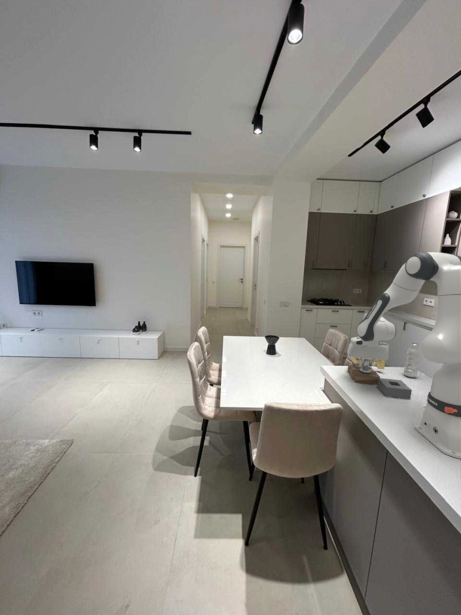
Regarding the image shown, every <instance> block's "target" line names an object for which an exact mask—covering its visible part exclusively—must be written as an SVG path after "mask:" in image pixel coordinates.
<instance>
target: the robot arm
mask: <svg viewBox="0 0 461 615" xmlns="http://www.w3.org/2000/svg"><path fill="white" fill-rule="evenodd" d="M427 281H428V282H429V281H433V282H435V284H436V286H437V311H436V312H437V313H436V314H437V315H436V320H435V322H434V325H433V328H432V329H431V331H430V333H429V334H428V335H427V336H425V337H424V338H423V340H422V341H421V343H420V344H421V345H420V352H421V354H422V355H423V357H424V358H425V359H426V360H427V361H430V362H432V363H436V364H442V366H441V367H440V368H439V369H438V370H436V371H435V372H434V373H433V375H432V379H431V385H430V390H429V391H428V394H427V397H426V398H427V399H426V402H427V403H426V405H424V407H422V409H421V412H420V416H419V419H418V422H417V423H415V424H414V426H413V428H414V429H415V430H416V431H417V432H419V433H420V435H422V436H423V437H425V439H426V440H428V441H429V442H430V443H431V444H432V445H434V447H435V448H437V449H438V450H439V451H440V452H442V453H443V454H444V455H447V456H450V457H453V458H456V459H459V460H461V256H460V255H457V254H455V253H446V252H445V253H444V252H441V251H440V252H439V251H438V252H437V251H436V252H435V251H434V252H433V251H429V252H426V251H419V252H415V253H413V254H410V256H409V257H407V259H406V261H405V263H404V264H402V266H401V267H400V269H399V270H398V272H397V274H395V277H394V278H393V281H392V283H391V284H390V286H388V288H387V289H386V290H385V291H384V292H383V293H381V294H380V295H379V296H378V297H377V298H376V300H375V301H374V302H373V304H372V306H371V308H370V309H369V310H368V312H365V313H364V315H363V318H362V320H361V321H360V322H359V324H357V327H356V334H357V336H354V337H351V338H350V343H348V345H347V352H346V354H347V356H349V357H358V358H359V360H358V361H359V365H364V362H363V361H361V359H362V358H370V359H372V361H370V364H369V366H371V367H373V366H374V363H376V362H375V361H376V359H381V360H385V361H387V360H388V359H389V353H390V352H389V350H390V346H391V345H390V344H389V343H388V342H383V341H393V339H395V337H396V335H397V327H396V325H395V324H394V323H393V322H390V321H388V320H387V319H386V318H385V317H383V315H384V314H385V313H386V312H387V311H388V310H391V309H392V308H396V307H399V306H402V305H407V304H409V303H411V302H413V301H414V300H415V299H416V298H417V296H418V294H419V293H420V291H421V289H422V287H423V285H424V283H426V282H427Z"/></svg>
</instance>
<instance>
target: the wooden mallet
mask: <svg viewBox="0 0 461 615" xmlns="http://www.w3.org/2000/svg"><path fill="white" fill-rule="evenodd" d="M349 357H350V356H349ZM363 359H364V358H362V359H361V361H363ZM368 359H370V362H371V361H372V359H371V358H368ZM350 360H351V362H353V363H354V364H355V365H360V360H359V358H358V357H350ZM374 363H376V368H377V369H378V370H385V367H386V360H381V359H376V361H375V362H374Z"/></svg>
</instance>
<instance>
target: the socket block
mask: <svg viewBox="0 0 461 615" xmlns="http://www.w3.org/2000/svg"><path fill="white" fill-rule="evenodd" d="M362 366H363V365H360V364H359V365H355V364H354V363H353V361H351V363H348V364H347V373H348V374H349V376H350V377H351V379H352V380H353V382H354V383H355V384H364V385H372V386H377V383H378V378H381V376H380V374H378V373H377V372H376V370H374V369H373V366H369V369H370V370H371V372H370V373H369V374H367V373H362V372H361V371H360V368H362Z"/></svg>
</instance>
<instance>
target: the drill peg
mask: <svg viewBox="0 0 461 615" xmlns="http://www.w3.org/2000/svg"><path fill="white" fill-rule="evenodd" d="M370 359H371V358H370ZM370 359H368V358H364V359H363V362H364V365H363V366H362V368H360V371H361V372H362V373H367V374H369V373H370V372H371V370H370V369H369V364H370V362H371V361H370Z"/></svg>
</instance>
